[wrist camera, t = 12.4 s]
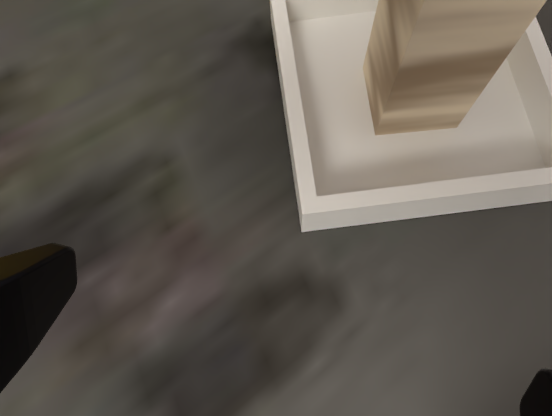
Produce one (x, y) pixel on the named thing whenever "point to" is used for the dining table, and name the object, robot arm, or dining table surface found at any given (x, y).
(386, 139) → the tray
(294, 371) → the dining table surface
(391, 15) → the birch block
